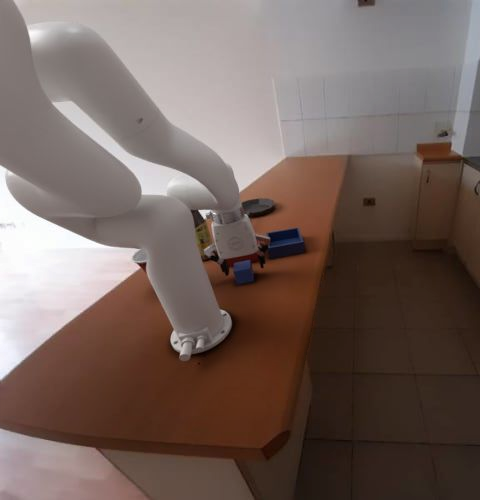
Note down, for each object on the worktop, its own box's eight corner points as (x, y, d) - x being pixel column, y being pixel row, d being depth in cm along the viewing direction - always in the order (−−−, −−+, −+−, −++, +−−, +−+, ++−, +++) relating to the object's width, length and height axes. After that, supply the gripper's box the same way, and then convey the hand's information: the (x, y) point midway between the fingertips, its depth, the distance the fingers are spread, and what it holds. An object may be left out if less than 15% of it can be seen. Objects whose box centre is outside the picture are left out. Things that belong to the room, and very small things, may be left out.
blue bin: (305, 252, 90) (303, 241, 88) (270, 259, 87) (267, 248, 85) (299, 237, 99) (298, 227, 97) (268, 242, 97) (266, 232, 95)
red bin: (262, 260, 87) (260, 249, 85) (225, 267, 85) (222, 256, 83) (261, 244, 96) (259, 233, 94) (228, 249, 94) (225, 239, 92)
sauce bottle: (209, 261, 88) (188, 202, 78) (191, 260, 90) (169, 202, 80) (220, 251, 94) (202, 195, 84) (203, 250, 95) (184, 194, 85)
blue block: (253, 281, 78) (250, 268, 75) (237, 284, 77) (233, 271, 74) (253, 272, 81) (250, 259, 79) (237, 275, 80) (234, 262, 78)
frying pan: (278, 202, 132) (277, 194, 130) (266, 232, 104) (264, 223, 102) (241, 204, 132) (239, 197, 130) (219, 235, 104) (216, 226, 103)
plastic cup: (153, 279, 82) (136, 244, 76) (192, 271, 84) (178, 236, 78) (143, 302, 73) (123, 264, 67) (187, 292, 75) (171, 254, 69)
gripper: (189, 227, 65) (212, 284, 74) (264, 214, 68) (276, 270, 77) (194, 214, 71) (214, 268, 80) (262, 203, 74) (274, 256, 83)
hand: (245, 269), depth 78 cm, fingers open, 9 cm apart
